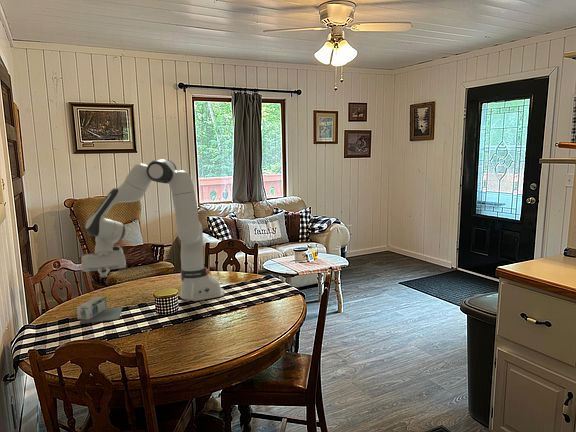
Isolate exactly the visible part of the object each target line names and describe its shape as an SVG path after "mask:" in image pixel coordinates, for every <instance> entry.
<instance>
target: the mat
mask: <svg viewBox="0 0 576 432" xmlns="http://www.w3.org/2000/svg"><path fill="white" fill-rule="evenodd" d="M122 311H123V306H118V307H111V308H107V309H105V310H103V311H102V312H100V313H98V314H97V315H95V316H94V317H92V318H90V319H80V322H79V325H83V324H93V323H100V322H107V321H108V322H110V321H117V320H120V318H121V315H122V314H121V313H122Z"/></svg>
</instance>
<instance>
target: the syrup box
mask: <svg viewBox="0 0 576 432" xmlns="http://www.w3.org/2000/svg"><path fill="white" fill-rule="evenodd" d="M107 301H108V299H107V297H106V296H95V297H93V298H91V299H89V300H87V301H85V302H84V303H81V304H80V305H78V306H76V316H77V317H76V318H77V320H82V319H90V318H92V317H94V316H95V315H97V314H98V313H100V312H102V311H103V310H105V309H108V302H107Z"/></svg>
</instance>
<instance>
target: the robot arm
mask: <svg viewBox="0 0 576 432" xmlns="http://www.w3.org/2000/svg"><path fill="white" fill-rule="evenodd" d="M152 182H154V183H155V182H156V183H161V184H168V185H169V188H170V191H171V196H172V197H171V198H172V202H173V207H174V213H175V214H174V216H175V223H176V231H177V237H178V239H179V240H180V263H181V269H180V279H181V290H180V295H179V298H180V299H183V300H188V301H193V302H197V301H198V302H199V301H203V300H208V299H214V298H219V297H223V296H225V294H226V291H225V289H224V288H223V287H221V284H220V283H219V280H217V279H216V278H215V277H213V276H212V275H210V269H208V268H207V267H205V265H204V263H205V262H204V241H203V240H204V238H203V237H204V235H203V225H202V223H201V222H200V218H199V210H198V209H199V208H198V203H197V198H196V191H195V188H194V187H195V186H194V183H193V180H192V176H191V175H190V173H189V172H188V171H186V170H181V169H180V170H178V169H177V166H176V164H175V163H174V162H173V161H172V160H170V159H164V158H160V159H155V160H152V161H150V162H149V163H148V165H147V164H146V163H136V164H135V165H134V166H132V168H131V170H130V171H129V172H128V174H127V175H126V178H125V179H124V182H123V183H121V185H120V186H118V187H115V188H112V189H111V190H110V192H108V194H107V195H106V197H105V198H104V199H103V200H102V202H101V203H100V204H99V205H98V207H97V208H96V210H95V211H94V213H92V214H91V215H90V216H89V217H88V219H87V221H86V222H85V225H84V228H85V231H86V233H87V234H88V235H89V236H93V237H95V245H94V253H85V254H84V255H82V256H81V258H80V261H81V264H80V269H81V271H82V272H84V273H85V272H87V273H88V272H96V271H97V273H99V277H100V278H107V277H108V275H109V272H111V270H117V269H125V268H126V267H127V263H126V262H127V261H126V256H125V254H124V250H123V247H121V246H116V245H115V246H114V244H116V243H119V242H120V241H121V240H123V239H124V238H125V235H126V227H125V224H124V223H123V222H120V221H116V220H113V219H110V218H106V217H105V216H107V214H108V213H109V211H110V210H111V208H112V207H113V206H115V205H117V204H121V203H134V202H135V203H136V202H137V201H140V200H141V199H143V197H144V196H145V194H146V191H147V190H148V188H149V186H150V184H151V183H152ZM105 270H106V271H105ZM102 271H103V272H102Z"/></svg>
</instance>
